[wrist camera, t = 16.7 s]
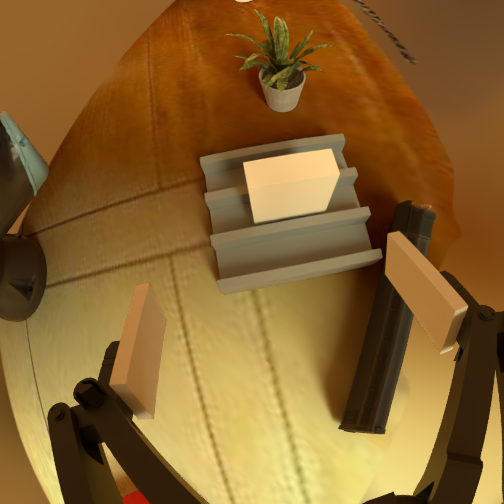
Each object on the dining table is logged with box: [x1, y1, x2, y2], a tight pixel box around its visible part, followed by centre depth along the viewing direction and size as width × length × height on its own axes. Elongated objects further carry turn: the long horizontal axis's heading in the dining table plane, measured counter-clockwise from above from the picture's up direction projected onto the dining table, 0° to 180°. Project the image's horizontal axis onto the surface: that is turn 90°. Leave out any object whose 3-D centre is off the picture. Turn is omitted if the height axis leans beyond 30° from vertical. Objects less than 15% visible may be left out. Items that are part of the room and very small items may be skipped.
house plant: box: [226, 9, 332, 112], centre depth 40 cm, size 14×14×16 cm
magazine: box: [338, 200, 436, 434], centre depth 33 cm, size 17×3×30 cm
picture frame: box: [243, 149, 340, 226], centre depth 35 cm, size 3×9×12 cm, turn 100°
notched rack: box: [200, 134, 383, 295], centre depth 40 cm, size 18×20×4 cm
